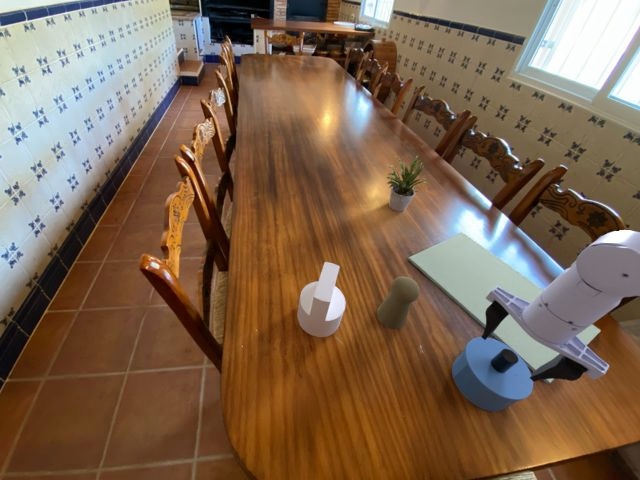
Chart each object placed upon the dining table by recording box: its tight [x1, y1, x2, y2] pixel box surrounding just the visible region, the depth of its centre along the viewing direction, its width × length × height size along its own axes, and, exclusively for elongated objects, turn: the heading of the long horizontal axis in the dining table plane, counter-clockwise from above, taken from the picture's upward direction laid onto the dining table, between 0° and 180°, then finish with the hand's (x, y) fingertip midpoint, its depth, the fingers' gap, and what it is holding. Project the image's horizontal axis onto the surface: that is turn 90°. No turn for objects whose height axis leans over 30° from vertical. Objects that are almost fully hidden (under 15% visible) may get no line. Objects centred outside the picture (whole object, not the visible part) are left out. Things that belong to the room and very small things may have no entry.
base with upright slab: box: [296, 261, 347, 338], centre depth 58 cm, size 9×9×12 cm
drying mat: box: [407, 231, 602, 385], centre depth 70 cm, size 34×22×1 cm, turn 30°
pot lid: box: [464, 336, 534, 402], centre depth 49 cm, size 10×10×5 cm
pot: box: [451, 348, 518, 413], centre depth 52 cm, size 10×10×6 cm
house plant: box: [385, 153, 431, 212], centre depth 90 cm, size 14×14×16 cm
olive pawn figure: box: [376, 275, 420, 330], centre depth 60 cm, size 6×6×11 cm
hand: (509, 355), depth 48 cm, fingers open, 7 cm apart
